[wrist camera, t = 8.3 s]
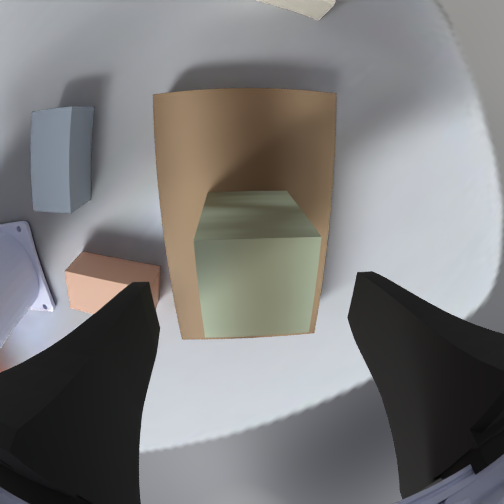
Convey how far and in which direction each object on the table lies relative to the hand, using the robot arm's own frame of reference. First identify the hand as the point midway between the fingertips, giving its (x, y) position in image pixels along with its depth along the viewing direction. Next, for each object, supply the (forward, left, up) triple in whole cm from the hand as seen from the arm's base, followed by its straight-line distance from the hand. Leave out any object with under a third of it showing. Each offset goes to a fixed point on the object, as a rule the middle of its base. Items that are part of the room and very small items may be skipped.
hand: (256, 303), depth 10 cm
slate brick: (-11, +5, -9) cm, 15 cm away
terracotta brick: (-9, -4, -9) cm, 13 cm away
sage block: (0, 0, -6) cm, 6 cm away
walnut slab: (0, 0, -9) cm, 9 cm away
